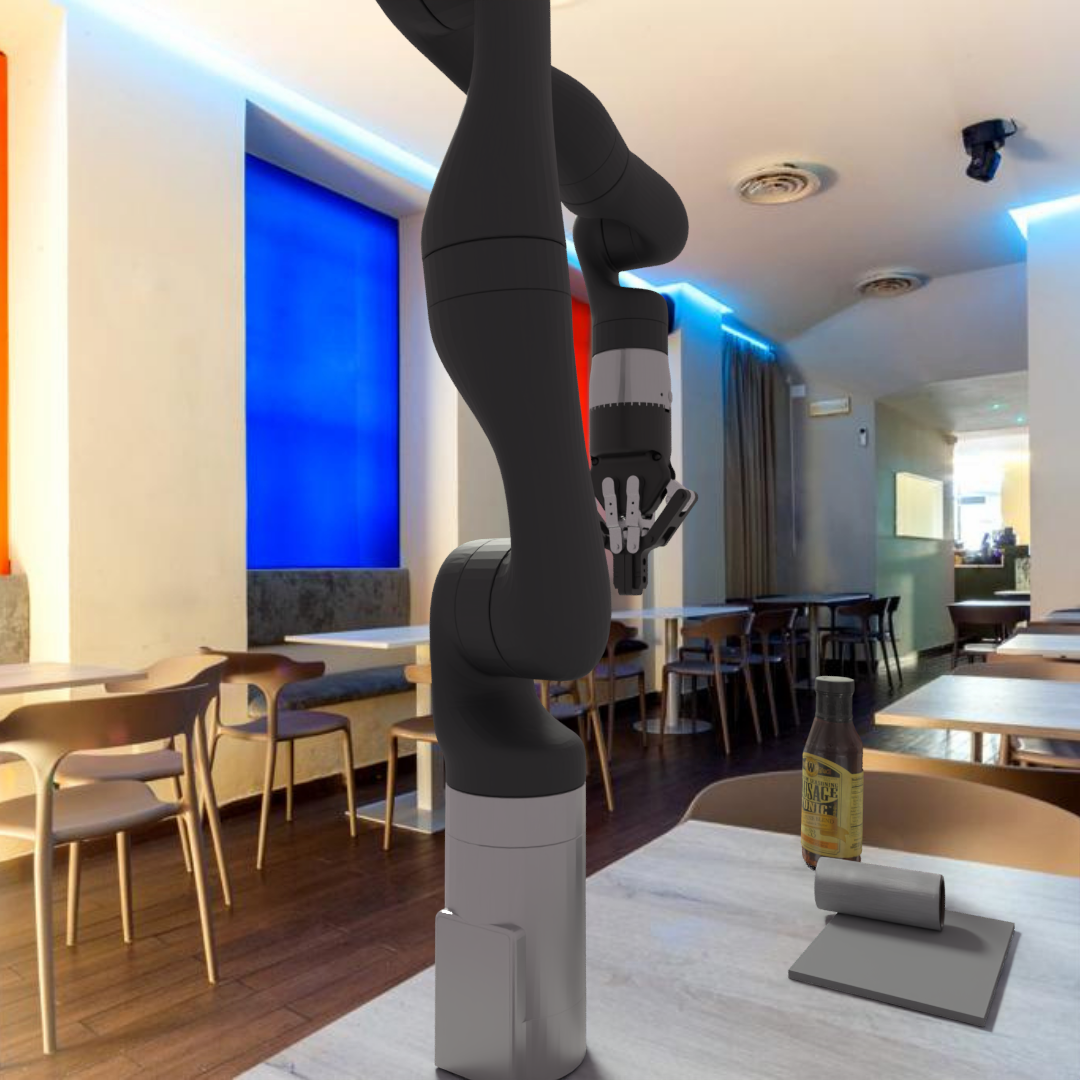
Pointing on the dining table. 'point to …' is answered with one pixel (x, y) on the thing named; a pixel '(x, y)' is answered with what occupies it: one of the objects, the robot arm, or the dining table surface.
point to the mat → (912, 963)
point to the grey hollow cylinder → (880, 892)
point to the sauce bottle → (832, 777)
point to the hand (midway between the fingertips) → (630, 595)
